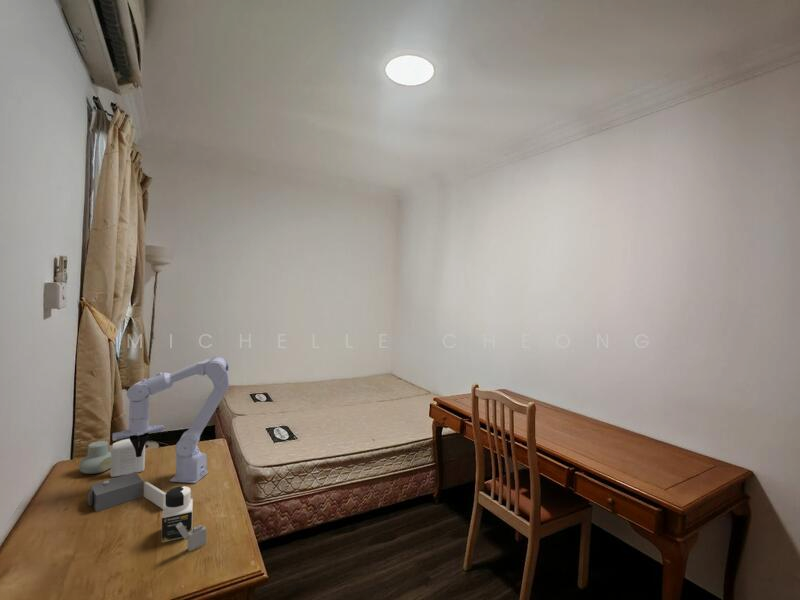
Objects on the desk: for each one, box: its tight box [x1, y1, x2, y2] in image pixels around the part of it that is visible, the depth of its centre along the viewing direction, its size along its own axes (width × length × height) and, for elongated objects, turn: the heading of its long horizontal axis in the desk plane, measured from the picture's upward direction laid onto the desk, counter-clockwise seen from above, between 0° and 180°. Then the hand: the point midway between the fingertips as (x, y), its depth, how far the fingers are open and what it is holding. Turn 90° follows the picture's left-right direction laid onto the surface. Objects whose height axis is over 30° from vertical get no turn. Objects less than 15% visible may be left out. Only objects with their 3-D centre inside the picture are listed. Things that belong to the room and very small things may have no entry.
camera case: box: [87, 472, 144, 513], centre depth 121 cm, size 13×9×6 cm
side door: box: [143, 480, 167, 510], centre depth 120 cm, size 13×2×5 cm, turn 57°
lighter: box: [176, 522, 208, 552], centre depth 99 cm, size 7×2×8 cm, turn 137°
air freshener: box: [78, 440, 111, 475], centre depth 139 cm, size 11×8×10 cm
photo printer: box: [109, 438, 146, 478], centre depth 138 cm, size 10×4×12 cm, turn 123°
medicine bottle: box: [161, 485, 194, 543], centre depth 106 cm, size 7×7×12 cm
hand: (138, 455), depth 131 cm, fingers closed
